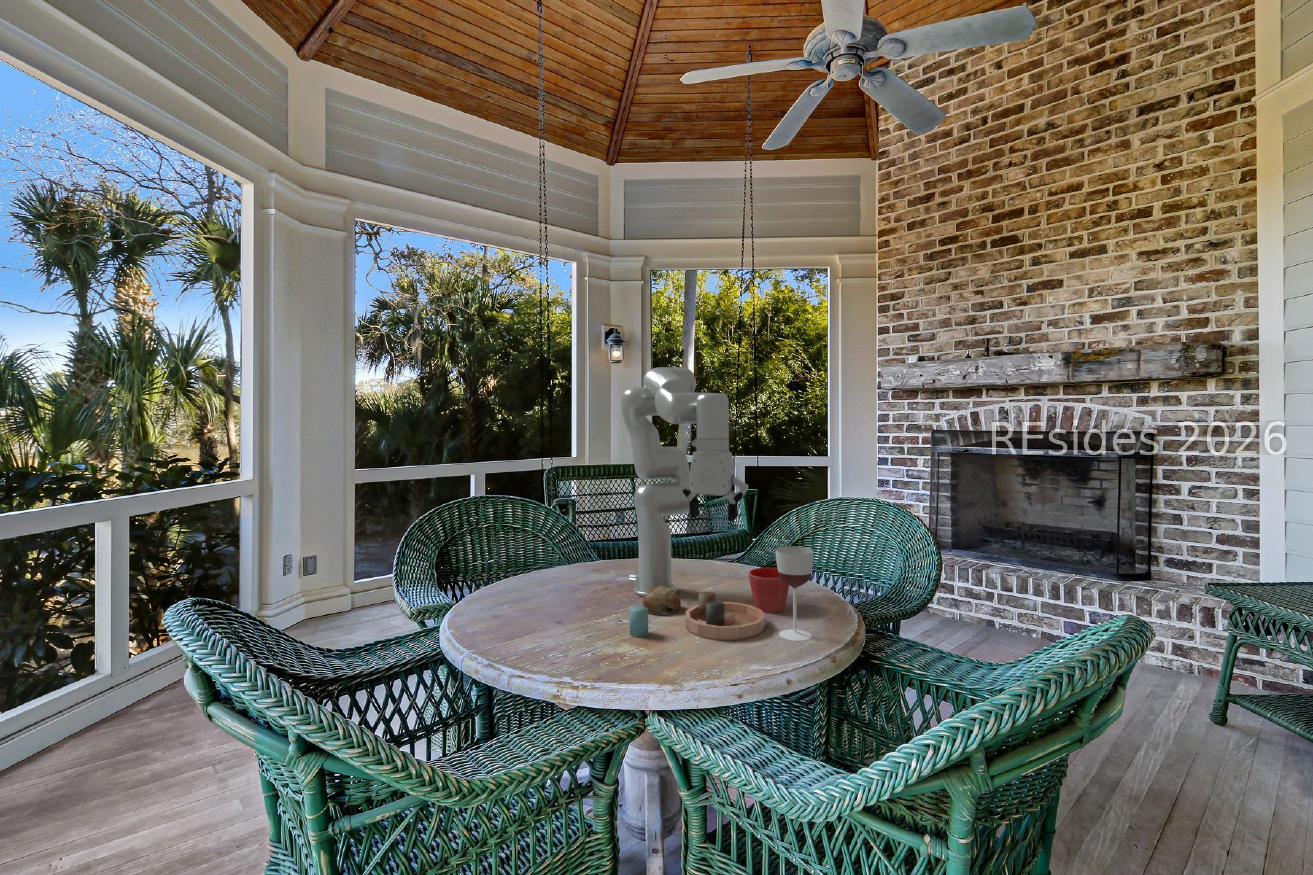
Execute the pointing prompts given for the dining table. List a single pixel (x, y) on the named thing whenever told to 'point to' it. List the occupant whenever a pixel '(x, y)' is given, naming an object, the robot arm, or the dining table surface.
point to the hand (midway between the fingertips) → (713, 518)
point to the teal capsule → (638, 621)
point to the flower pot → (768, 590)
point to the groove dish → (728, 623)
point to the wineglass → (794, 580)
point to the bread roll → (662, 601)
